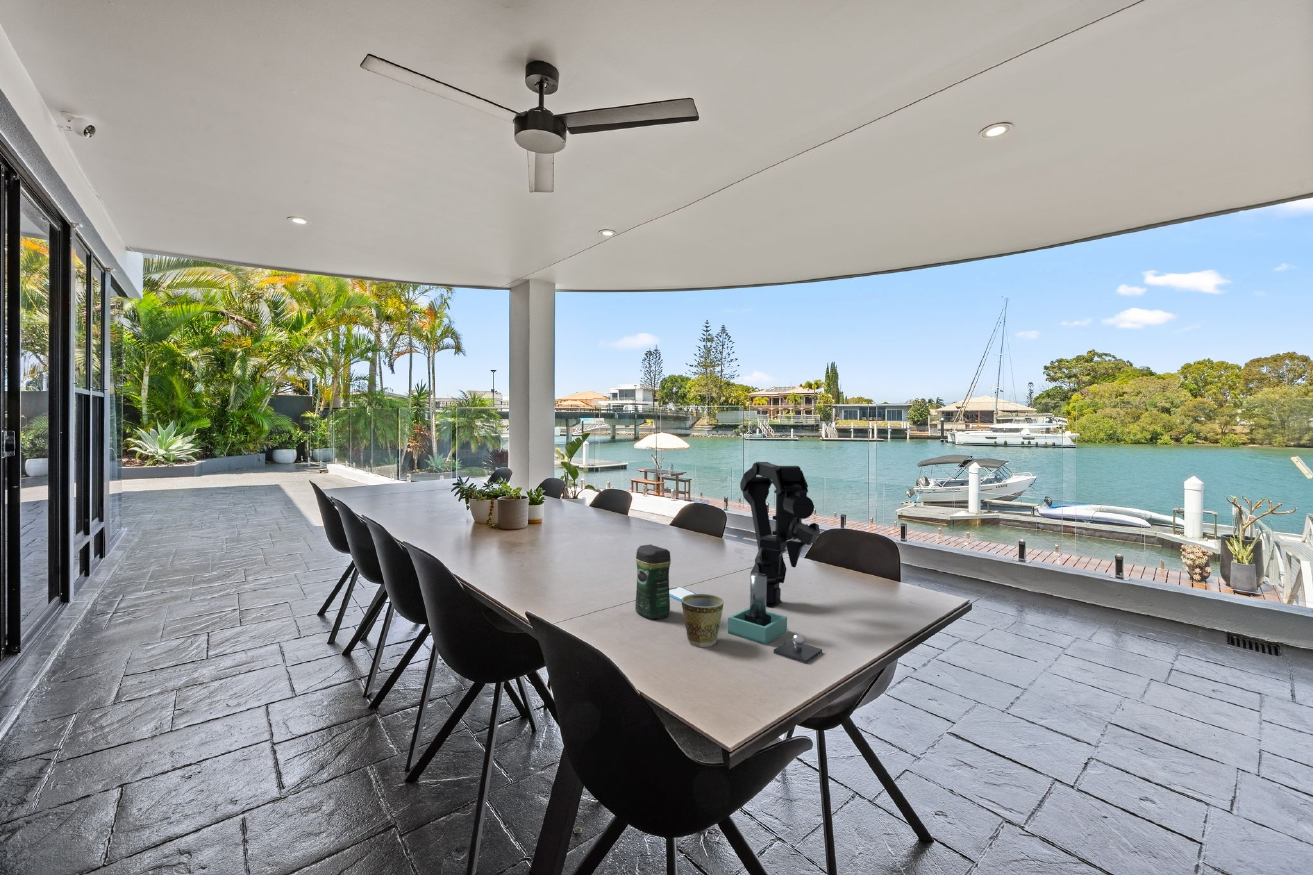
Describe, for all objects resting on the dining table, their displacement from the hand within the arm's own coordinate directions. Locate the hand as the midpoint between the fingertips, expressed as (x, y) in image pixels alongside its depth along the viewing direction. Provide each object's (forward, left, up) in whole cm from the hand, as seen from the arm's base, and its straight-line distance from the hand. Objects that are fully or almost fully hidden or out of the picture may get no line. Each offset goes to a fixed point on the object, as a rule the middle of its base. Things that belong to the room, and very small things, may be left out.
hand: (785, 570), depth 145 cm
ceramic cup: (-8, -27, -13) cm, 31 cm away
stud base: (+13, -18, -13) cm, 26 cm away
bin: (0, -14, -13) cm, 19 cm away
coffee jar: (-28, -22, -13) cm, 38 cm away
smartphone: (-30, -4, -14) cm, 34 cm away
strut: (0, -14, -12) cm, 19 cm away
